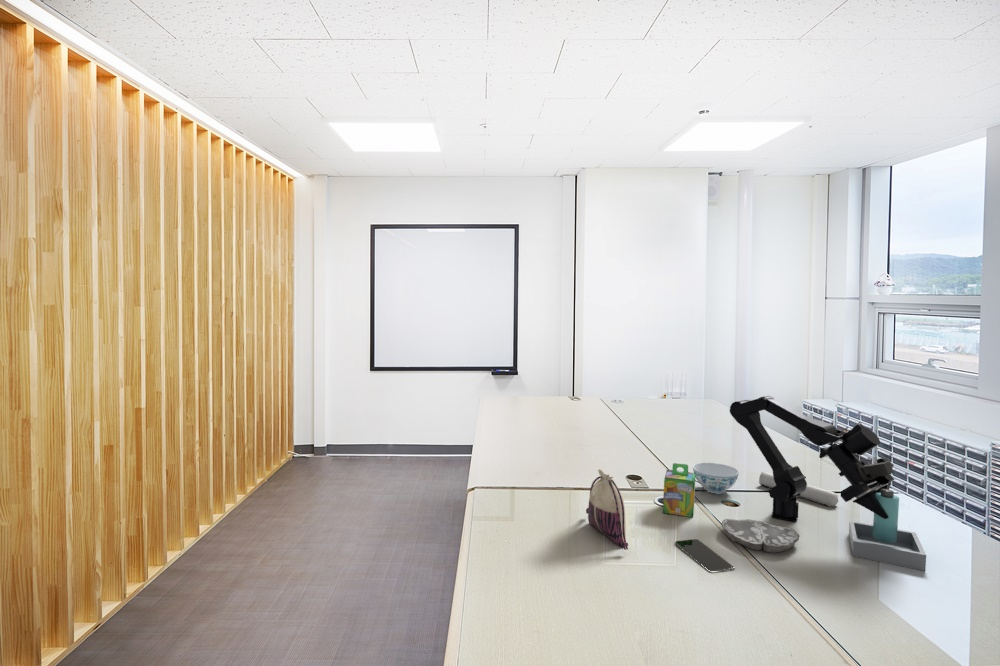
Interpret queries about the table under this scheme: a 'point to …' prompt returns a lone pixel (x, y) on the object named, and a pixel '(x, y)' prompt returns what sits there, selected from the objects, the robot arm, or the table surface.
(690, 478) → the chalk box
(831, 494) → the tube
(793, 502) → the robot arm
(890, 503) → the capped bottle
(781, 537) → the brain slice
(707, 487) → the chinaware
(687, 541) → the smartphone
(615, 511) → the pouch
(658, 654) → the table surface
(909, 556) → the tray
